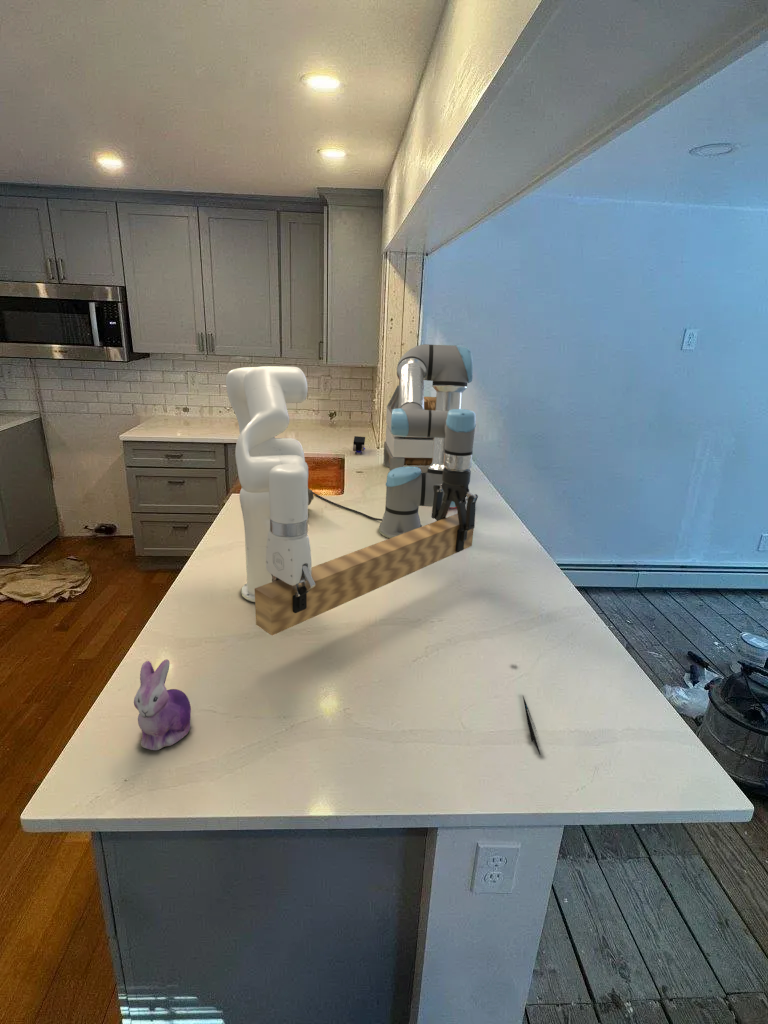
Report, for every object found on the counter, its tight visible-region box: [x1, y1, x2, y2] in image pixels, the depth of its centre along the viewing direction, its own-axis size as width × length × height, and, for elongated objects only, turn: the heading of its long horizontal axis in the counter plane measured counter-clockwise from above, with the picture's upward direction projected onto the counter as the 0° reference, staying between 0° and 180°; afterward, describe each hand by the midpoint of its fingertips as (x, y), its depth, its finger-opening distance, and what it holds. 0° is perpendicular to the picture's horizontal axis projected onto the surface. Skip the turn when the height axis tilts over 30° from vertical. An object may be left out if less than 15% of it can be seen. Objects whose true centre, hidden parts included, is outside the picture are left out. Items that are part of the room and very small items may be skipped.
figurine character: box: [352, 435, 366, 455], centre depth 308 cm, size 7×8×15 cm
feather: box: [513, 664, 541, 755], centre depth 114 cm, size 2×28×2 cm
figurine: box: [133, 658, 192, 751], centre depth 101 cm, size 9×10×15 cm
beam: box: [254, 513, 475, 637], centre depth 139 cm, size 70×6×9 cm, turn 136°
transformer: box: [383, 384, 436, 472], centre depth 268 cm, size 34×33×41 cm
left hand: (290, 604), depth 120 cm, fingers closed on beam, 5 cm apart
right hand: (450, 547), depth 160 cm, fingers closed on beam, 6 cm apart
